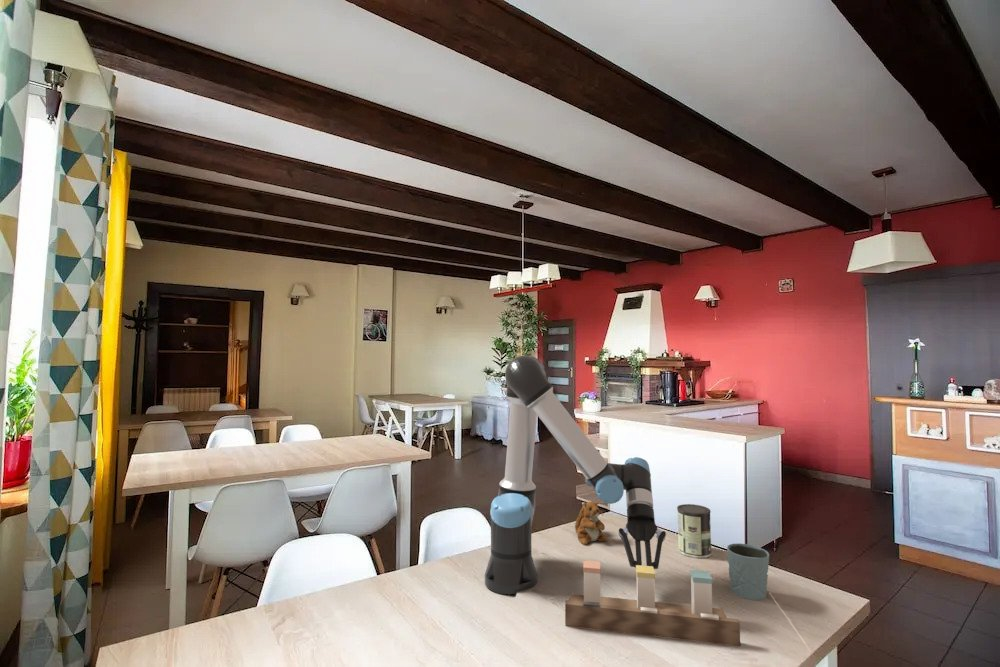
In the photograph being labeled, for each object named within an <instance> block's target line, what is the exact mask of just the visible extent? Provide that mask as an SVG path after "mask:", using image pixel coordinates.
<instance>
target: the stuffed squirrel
mask: <svg viewBox="0 0 1000 667" xmlns="http://www.w3.org/2000/svg"><path fill="white" fill-rule="evenodd" d="M581 504H582V507H581V509H580V511H579V513H578V516H577V518H576V520H575V523H574V526H573V527H574V529H575V533H576V534H577V539H578V542H579V543H580V544H582V545H583V544H584V545H585V546H587V545H588V544H589V543H590V542H595V541H597V540H598V542H607V541H608V537H607V536H605V535H603V531H605V530H606V528H605V527H606V526H605V524H604V523H603V522H602V521H601V520H600V519H599V518H598V517H599V516H600V515H601V516H603V515H604V512H603V511H602V510H600V508H599V506H598V505H599V501H587V502H585V501H583V502H581ZM586 544H587V545H586ZM584 545H583V546H584Z"/></svg>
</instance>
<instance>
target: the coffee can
mask: <svg viewBox="0 0 1000 667" xmlns="http://www.w3.org/2000/svg"><path fill="white" fill-rule="evenodd" d="M676 510H677V535H678V536H677V537H678V538H677V540H678V541H677V542H678V543H677V544H678V552H679V553H680V554H681V555H684V556H687V557H689V558H694V559H695V558H696V559H707V558H709V557H711V556H712V538H711V536H712V535H711V533H712V532H711V527H712V526H711V509H710V508H709V507H706V506H704V505H699V504H692V503H691V504H690V503H686V504H685V503H684V504H683V503H682V504H678V505H677V507H676Z"/></svg>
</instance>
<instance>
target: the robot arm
mask: <svg viewBox="0 0 1000 667" xmlns="http://www.w3.org/2000/svg"><path fill="white" fill-rule="evenodd" d="M504 374H505V375H504V376H505V377H504V378H505V383H506V384H507V386H506V396H505V397H506V399H507V400H508V401H509V402H510V407H509V418H508V419H509V420H508V433H507V445H506V455H505V456H506V457H505V467H504V477H503V478H502V479H501V480H500V482H499V484H498V495H497V496H496V497H494V498H493V500H492V501H491V503H490V511H489V512H490V513H489V514H490V556H489V560H488V562H487V566H486V569H485V573H484V585H485V587H486V588H487V589H488V590H490V591H492V592H493V593H497V594H501V595H506V594H508V596H511V595H510V594H516V595H517V593H519V592H524V591H528V590H530V589H532V588H534V587H535V586H537V584H538V581H539V579H538V578H539V577H538V576H539V575H538V571H537V568H536V564H535V561H534V558H533V555H532V554H533V553H532V527H533V526H532V524H533V520H534V515H535V512H536V493H537V492H536V488H537V485H536V484H535V483H534V482H533V480H532V479H533V468H534V464H533V463H534V453H535V441H536V431H537V430H536V429H537V417H538V418H539V419H540V421H541V422H542V424H544V426H545V428H546V429H547V430H548V432H550V433H551V435H552V436H553V438H554V439H555V440H556V441H557V443H558V444H559V445H560V446H561V448H562V449H563V450H564V452H565V453H566V455H568V457H569V458H570V460H571V461H572V462H573V463H574V464H575V466H576V468H577V469H578V470H579V471H580V472H581V473H582V475H583V476H584V478H585V485H586V486H587V487H592V488H593V489H594V491H595V493H596V496H597V498H599V499H600V501H602V502H603V503H605V504H609V505H611V504H612V505H613V504H616V503H618V502H620V501H621V499H622V497H623V496H624V491H625V499H626V516H627V520H626V521H627V523H626V524H625V527H623V528H621V527H620V528H619V529H618V536H619V537H620V539H621V540H622V543H623V546H624V550H625V554H626V557H627V559H628V563H629V566H630V567H631V568H635V569H636V565H642V566H643V562H642V561H643V560H642V548H641V547H642V546H641V545H642V544H641V542H644V549H645V550H644V551H645V560H646V561H645V562H646V566H653V568H654V570H658V569H659V566H660V565H659V564H660V559H661V552H662V546H663V542H664V541H665V540H666V535H667V532H666V531H664V530H660V529H659V528H658V525H657V524H656V521H655V520H656V518H655V512H654V511H655V510H654V499H653V498H654V497H653V491H652V490H653V488H652V473H651V470H650V469H651V468H650V465H649V463H648V461H647V460H646V459H645V458H641V457H637V456H635V457H629V458H628V459H626V460H625V461H624V464H621V463H620V464H618V463H610V462H607V461H606V460H605V458H604V456H602V454H601V452H599V450H598V449H597V448H596V446H595V445H594V444H593V443H592V441H591V440H590V438H589V437H588V435H587V434H585V432H584V431H583V430H582V428H581V427H580V426H579V424H578V423H577V422H576V421H575V419H574V418H573V417H572V415H571V414H570V413H569V411H568V410H567V409H566V407H565V406H564V405H563V404H562V403H561V401H560V400H559V399H558V397H557V396H556V394H555V393H554V386H553V385H552V384H551V383H550V381H549V380H548V379H547V374H546V368H545V366H544V363H543V362H542V361H541V360H540V359H538V357H535V356H533V355H532V356H531V355H519V356H516V357H514V358H512V360H511V361H510V362H509V363H508V364H507V366H506V368H505V372H504ZM629 534H630V536H631V537H632V539H634V543H635V557H634V554H633V551H632V548H631V544H630V540H629V536H628V535H629ZM655 535H656V539H657V544H656V548H655V554H654V555H655V556H654V561H653V560H652V548H651V547H652V546H651V540H652V539H653V537H654V536H655ZM635 558H636V559H635Z"/></svg>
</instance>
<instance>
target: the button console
mask: <svg viewBox="0 0 1000 667" xmlns="http://www.w3.org/2000/svg"><path fill="white" fill-rule="evenodd" d="M600 601H601V604H599V603H597V602H588V601H584V594H581V593H571V592H570V593H569V600H565V602H564V606H565V607H564V609H565V610H564V611H565V613H564V615H565V617H564V618H565V620H564V621H565V623H564V624H565V625H564V626H565V627H571V628H578V629H579V628H580V629H589V630H598V631H606V632H607V631H608V632H614V633H615V632H616V633H623V634H632V635H640V636H649V637H658V638H665V639H675V640H676V639H677V640H683V641H692V642H694V641H695V642H701V643H709V644H710V643H711V644H716V645H725V646H726V645H727V646H735V647H741V627H740V626H741V625H740V624H741V623H740V621H739V618H732V617H727V615H726V613H725V611H724V608H719V607H718V608H717V607H712V614H703V613H700V615H697V614H692V605H689V604H680V603H669V602H660V601H655V608H646V607H641V609H639V608H637V599H629V598H621V597H619V598H618V597H607V596H601V595H600Z"/></svg>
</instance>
